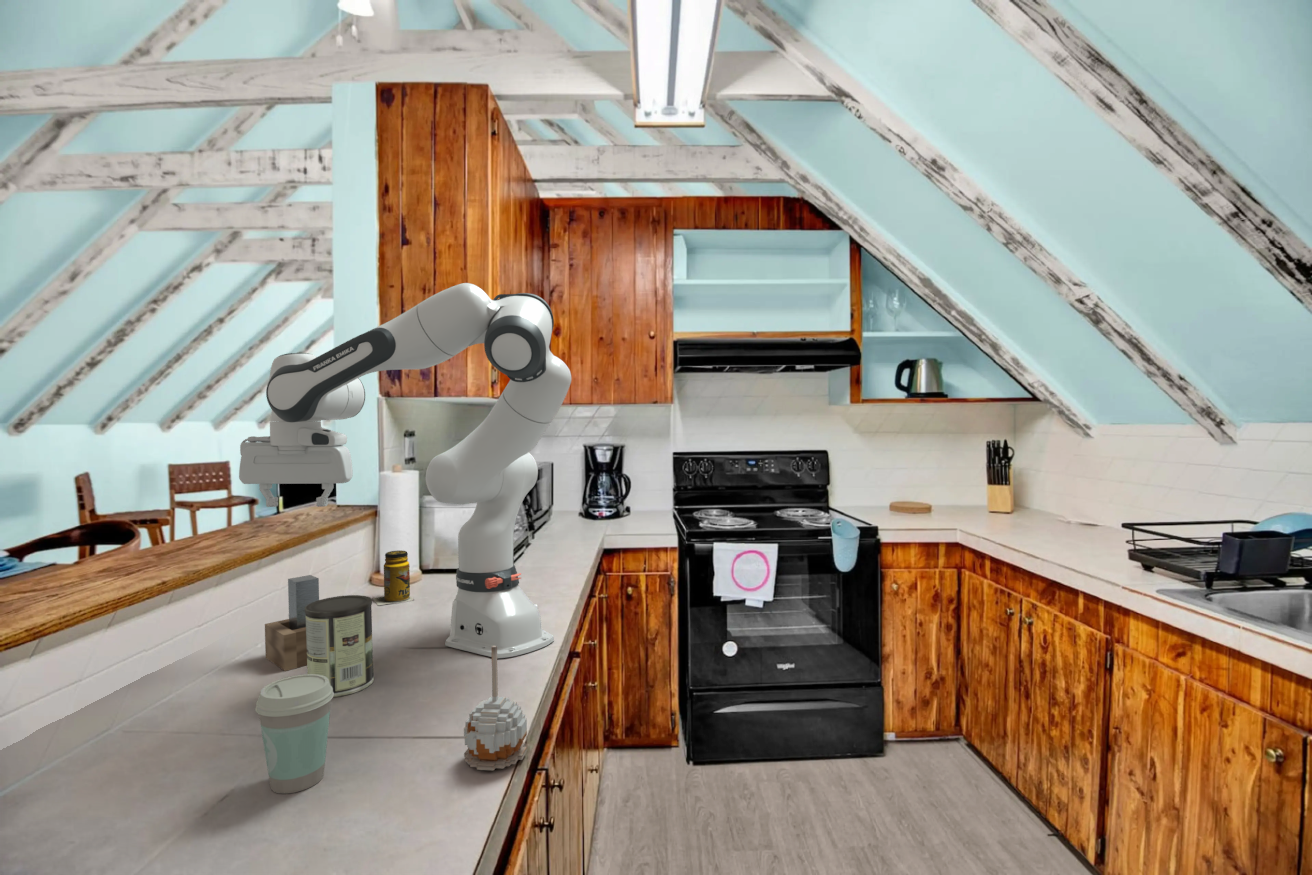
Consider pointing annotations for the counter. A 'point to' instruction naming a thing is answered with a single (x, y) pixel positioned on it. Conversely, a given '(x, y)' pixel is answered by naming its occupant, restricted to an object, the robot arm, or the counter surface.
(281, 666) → the walnut holder
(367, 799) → the counter surface
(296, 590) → the steel bar
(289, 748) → the coffee cup
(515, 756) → the voxel caramel apple
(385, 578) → the condiment
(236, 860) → the counter surface
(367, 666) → the coffee can
